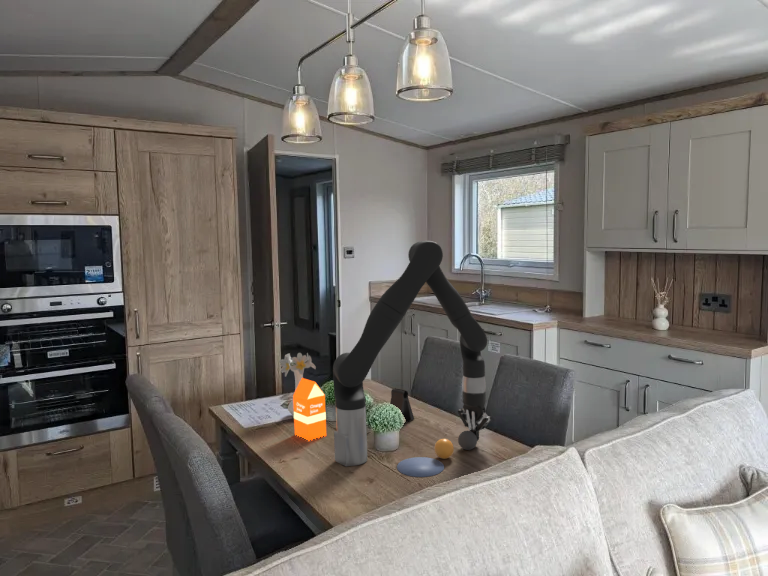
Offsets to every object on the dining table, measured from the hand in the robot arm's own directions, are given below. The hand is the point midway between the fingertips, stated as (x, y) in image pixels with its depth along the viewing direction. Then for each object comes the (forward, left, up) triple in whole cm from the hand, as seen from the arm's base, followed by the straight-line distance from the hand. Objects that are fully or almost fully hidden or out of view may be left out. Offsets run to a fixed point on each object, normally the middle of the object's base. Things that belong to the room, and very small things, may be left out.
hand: (474, 441), depth 182 cm
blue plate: (-25, -1, -2) cm, 25 cm away
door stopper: (-2, +35, -2) cm, 35 cm away
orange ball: (-15, -1, +2) cm, 15 cm away
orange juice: (-35, +45, -2) cm, 57 cm away
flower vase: (-27, +67, -2) cm, 72 cm away
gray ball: (-4, -1, +2) cm, 4 cm away
